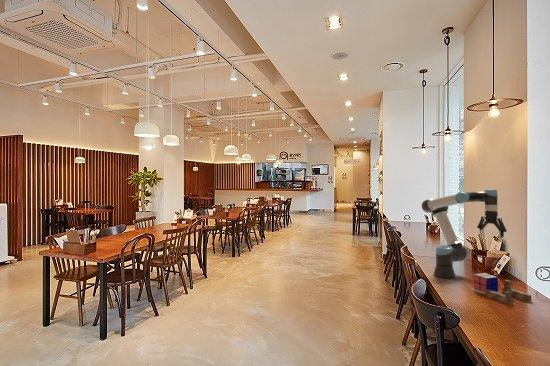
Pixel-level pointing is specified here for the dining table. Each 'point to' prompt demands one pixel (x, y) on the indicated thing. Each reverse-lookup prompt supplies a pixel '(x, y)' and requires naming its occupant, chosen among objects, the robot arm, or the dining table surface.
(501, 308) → the dining table surface
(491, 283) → the puzzle cube
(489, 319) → the dining table surface
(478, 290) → the white square panel
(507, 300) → the plane body cradle
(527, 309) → the dining table surface
